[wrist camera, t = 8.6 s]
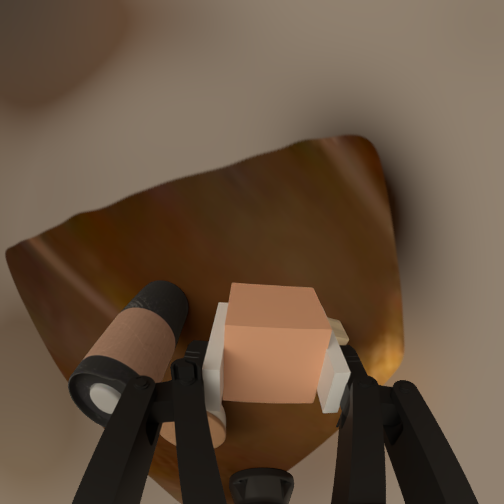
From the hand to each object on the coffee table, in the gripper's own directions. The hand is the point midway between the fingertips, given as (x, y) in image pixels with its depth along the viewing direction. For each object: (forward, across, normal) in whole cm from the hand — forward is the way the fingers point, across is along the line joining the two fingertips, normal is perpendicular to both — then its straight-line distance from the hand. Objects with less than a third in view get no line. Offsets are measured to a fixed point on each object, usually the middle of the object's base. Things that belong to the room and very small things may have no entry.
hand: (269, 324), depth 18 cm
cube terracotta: (0, 0, 0) cm, 0 cm away
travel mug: (+19, +13, +9) cm, 25 cm away
